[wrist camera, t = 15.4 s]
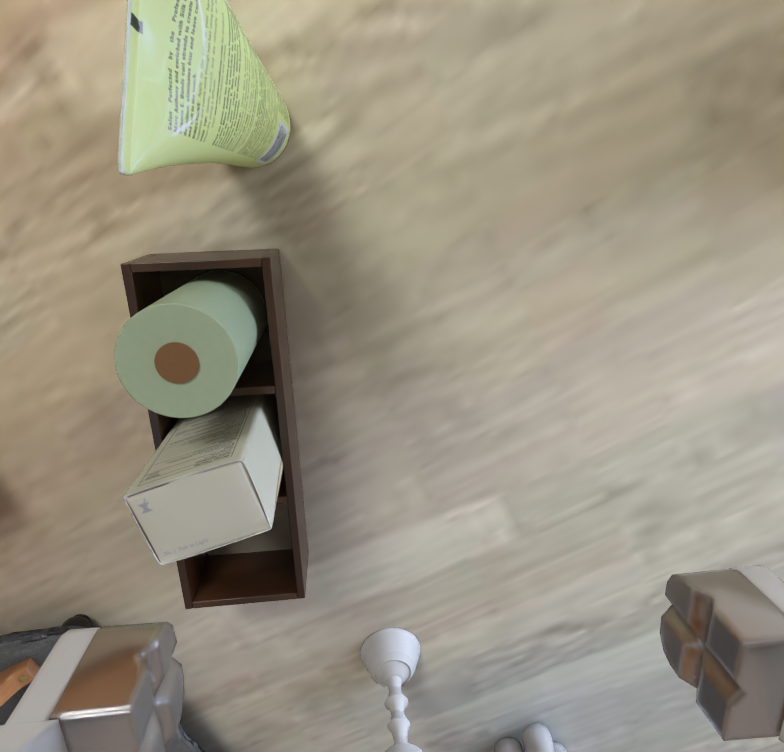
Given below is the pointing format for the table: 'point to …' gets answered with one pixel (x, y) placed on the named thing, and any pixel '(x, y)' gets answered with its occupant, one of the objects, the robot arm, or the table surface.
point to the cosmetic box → (211, 480)
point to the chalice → (393, 676)
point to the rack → (283, 567)
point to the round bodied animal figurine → (531, 741)
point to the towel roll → (191, 344)
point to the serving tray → (26, 656)
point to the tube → (195, 90)
